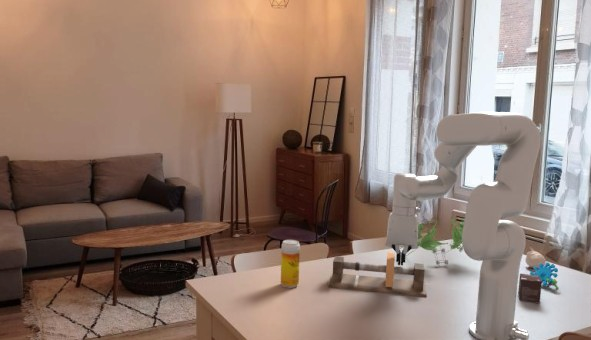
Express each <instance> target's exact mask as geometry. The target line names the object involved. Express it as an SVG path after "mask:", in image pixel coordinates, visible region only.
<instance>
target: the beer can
mask: <svg viewBox="0 0 591 340" xmlns="http://www.w3.org/2000/svg"><path fill="white" fill-rule="evenodd" d="M280 251H281V253H280V255H281V260H280V261H281V262H280V284H281V286H282V287H284V288H286V289H292V288H296V287H297V286H299V284H300V259H301V258H300V254H301V244H300V241H299V240H296V239H285V240H283V241H282V244H281V250H280Z"/></svg>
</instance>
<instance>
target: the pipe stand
mask: <svg viewBox="0 0 591 340" xmlns="http://www.w3.org/2000/svg"><path fill="white" fill-rule="evenodd" d="M344 260H345V257H344V256H338V255H337V256H336V255H335V256H334V258H333V261H332V273H331V276H330V279H329V281H328V284H327V285H328V286H327V288H334V289H335V288H336V289H345V290H355V291H367V292H375V293H383V294H397V295H403V296H414V297H425V298H427V297H428V295H427V294H428V293H427V289H426V282H425V265H424V263H418V262H414V265H413V267H405V266H397V265H396V266H395V265H394V275H395V274H398V275H405V276H413V279H410V280H409V279H401V278H394V279H393V287H385V283H386V277H380V276H379V277H377V276H370V275H369V276H367V275H359V274H347V273H344V270H351V271H352V270H353V271H357V272H359V271H363V272H364V271H365V272H375V273H384V274H386V265H387V264H386V265H383V264H372V263H362V262H361V263H360V262H357V261H355V262H351V261H344Z"/></svg>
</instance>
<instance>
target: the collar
mask: <svg viewBox="0 0 591 340" xmlns="http://www.w3.org/2000/svg"><path fill="white" fill-rule="evenodd" d="M395 254H396V252H387V253H386V273H385V278H386V283H385V287H393V279H395V277H394V275H395V274H394V266H395V262H396V257H395Z"/></svg>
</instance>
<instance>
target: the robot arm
mask: <svg viewBox="0 0 591 340" xmlns="http://www.w3.org/2000/svg"><path fill="white" fill-rule="evenodd" d="M435 133H436V138H437V139H438V141H439V144H438V145H437V146H436V148H435V149H434V158H435V160H436V161H437V162H438V164H439V165H441V168H439V170H438V171H437V172H436V173H435V174H434V175H422V176H418V175H416V174H414V173H409V172H398V173H396V174H395V175H394V177H393V189H392V190H393V191H392V207H391V208H392V210H391V212H390V213H389V215H388V219H387V229H386V241H385V243H384V245H385V246H386V247H389V248H391V249H393V250H394V253H395V254H396V257H395V262H396V263H397V265H398V266H400V267H404V263H406V257H407V254H408V253H409V252H411V250H417V248H418V249H419V247H418V243H417V242H418V224H419V218H418V215H417V214H419V213H421V208H420V207H417V201H418V202H419V201H425V200H426V201H427V200H436V199H437V200H439V199H440V198H442V197H444V196H446V195H447V194H448V193H449V192H450V191H451V190H452V189H453V187H455V185H456V184H457V182H458V180H459V178H460V173H461V172H460V171H461V170H460V166H461V165H462V164H463V162H465V160H466V159H467V158H468V157H469V156H470V155H471V154H472V153H473V151H474V150H475V149H476V148H477V147H478V146H483V147H484V146H503V145H504V146H505V147H506V150H505V151H504V153H503V154H502V155H501V157H500V159H499V162H498V165H497V169H496V170H497V171H496V175H495V179H494V181H492V182H483V183H480V184H478V185H477V186H476V187H475V188H473V190H472V191H471V192H470V194H469V197H468V200H467V204H466V208H465V209H466V210H465V215H464V220H463V222H464V226H463V232H462V244H461V247H462V246H463V252H464V253H465V254H466V255H467V256H468V257H469V258H470V259H472V260H473V261H479V262H480V261H481V262H482V263H481V265H480V271H479V279H478V280H479V281H478V291H477V292H478V293H477V305H476V312H475V313H476V314H475V315H476V317H475V321H473V322H471V323H470V324H469V327H468V331H469V333H470V335H472V336H473V337H475V338H476V339H477V340H529V337H530V336H529V334H528V331H527V330H526V329H523V328H519V326H518V325H519V324H518V323H519V322H518V321H517V320H515V315H516V304H517V295H518V285H519V277H520V267H521V262H522V259H523V255H524V252H525V248H526V245H527V244H526V241H527V239H526V233H525V231H524V229H523V228H522V227H521V226H520V224H518V222H515V221H512V220H507V219H511V218H515V217H516V218H517V217H519V216H521V215H523V213H524V212H525V211H526V209H527V206H528V203H529V199H530V193H531V187H532V182H533V178H534V177H533V176H534V171H535V168H536V162H537V159H538V155H539V153H540V148H541V133H540V130H539V128H538V126H537V124H536V123H535V122H534V121H533V120H532V119H531V118H530V117H528V116H526V115H524V114H522V113H518V112H510V111H509V112H508V111H507V112H505V111H500V112H498V111H479V112H468V113H467V112H466V113H459V114H456V113H455V114H448V115H446V116H444V117H442V119H441V120H440V121H439V123H437V126H436V132H435ZM400 246H404V247H403V248H402V251H401V249H399V248H400Z"/></svg>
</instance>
